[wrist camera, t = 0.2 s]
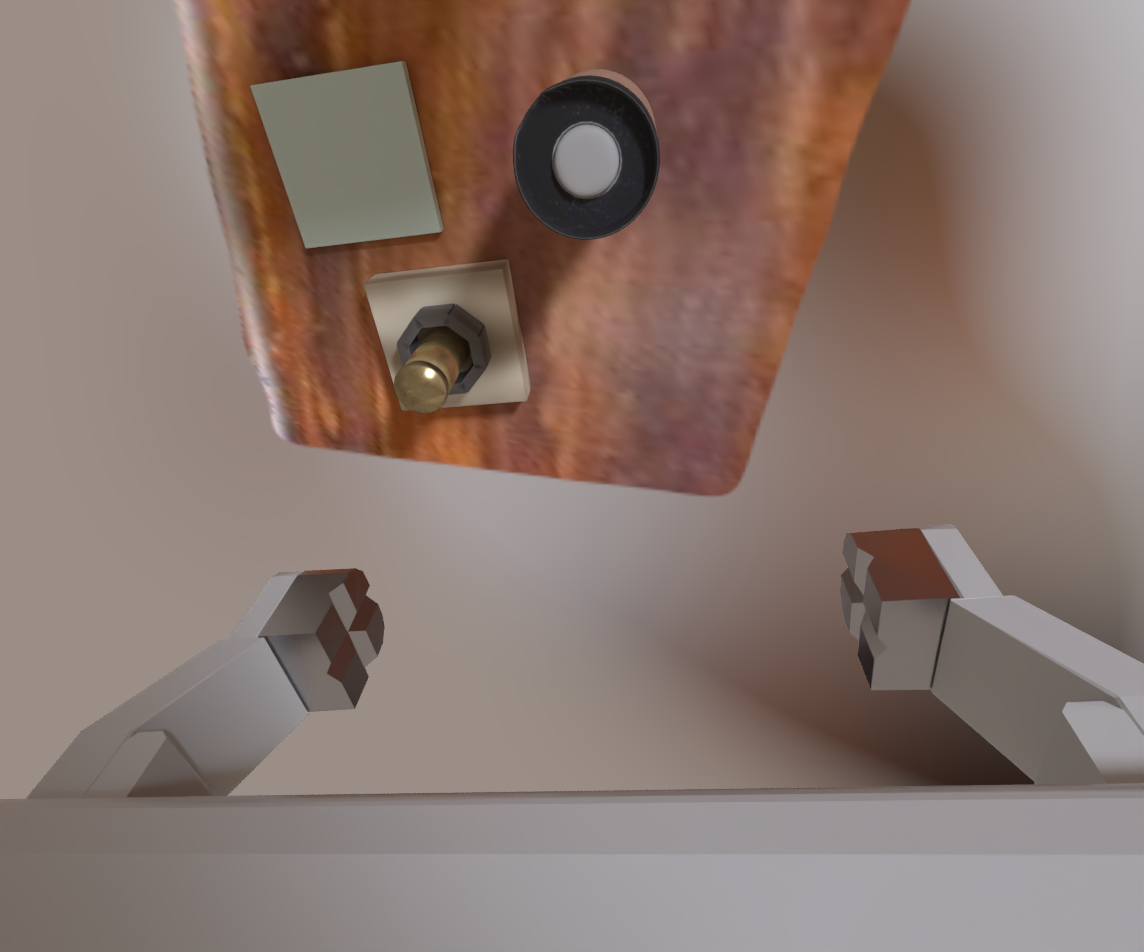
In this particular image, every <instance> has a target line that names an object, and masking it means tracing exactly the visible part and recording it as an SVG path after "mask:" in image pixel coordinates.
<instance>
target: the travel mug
mask: <svg viewBox="0 0 1144 952" xmlns="http://www.w3.org/2000/svg"><path fill="white" fill-rule="evenodd" d="M513 165H514V173H515V178H516V183H517V186H518V189H519V192H520V194H521V196H522V198H523V200H524V202H525V203H526V205H527V207H528V208H529V210H530V211H531V212H532V213H533V215H534V216H535V217H536V218H537V219H538V220H539V221H540V222H541V223H542V224H544V225H545V226H547V227H548V228H549V229H551V230H553V231H555V232H556V233H558V234H561V235H564V236H566V237H570V238H574V239H583V240H587V239H598V238H603V237H606V236H609V235H612V234H614V233H616V232H618V231H620V230H621V229H623V228H625V227H626V226H628V225H629V224H630V223H631V222H632V221H633V220H635V218H636V217H637V216H638V215H639V214H640V213H641V212H642V210H643V209H644V208H645V206H646V205H647V203H648V201H649V199H650V198H651V196H652V193H653V191H654V188H655V185H656V182H657V178H658V173H659V166H660V150H659V142H658V136H657V130H656V125H655V120H654V115H653V112H652V109H651V107H650V104H649V102H648V100H647V99H646V97H645V96H644V94H643V93H642V91H641V90H640V89H639V88H638V87H637V86H636V85H635V84H634V83H633V82H632V81H631V80H629V79H628V78H626V77H625V76H623V75H621V74H619V73H616V72H613V71H609V70H603V69H593V70H587V71H582V72H580V73H577V74H575V75H573V76H571V77H569V78H567V79H565V80H564V81H562V82H560V83H557V84H555V85H553V86H551V87H549V88H548V89H546V90H545V91H543V92H542V93H541V94H540V96H539V97H538V98H537V99H536V101H535V102H534V103H533V105H532V106H531V107H530V109H529V110H528V112H527V113H526V115H525V117H524V119H523V120H522V123H521V124H520V126H519V128H518V129H517V131H516V134H515V138H514V146H513Z"/></svg>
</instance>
